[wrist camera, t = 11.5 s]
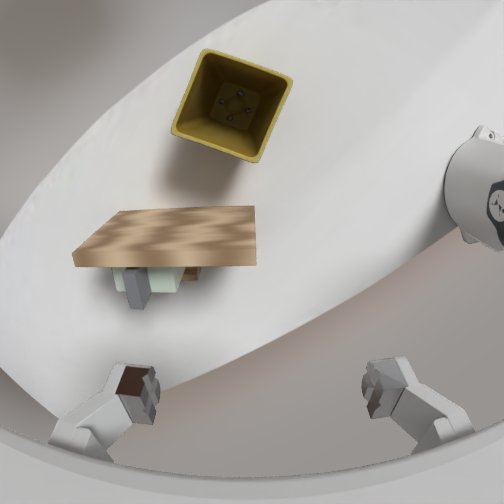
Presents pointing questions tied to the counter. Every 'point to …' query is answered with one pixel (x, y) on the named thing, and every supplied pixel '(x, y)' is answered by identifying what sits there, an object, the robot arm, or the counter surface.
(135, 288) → the pale green box
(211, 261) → the wall board
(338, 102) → the counter surface
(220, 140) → the flower pot
